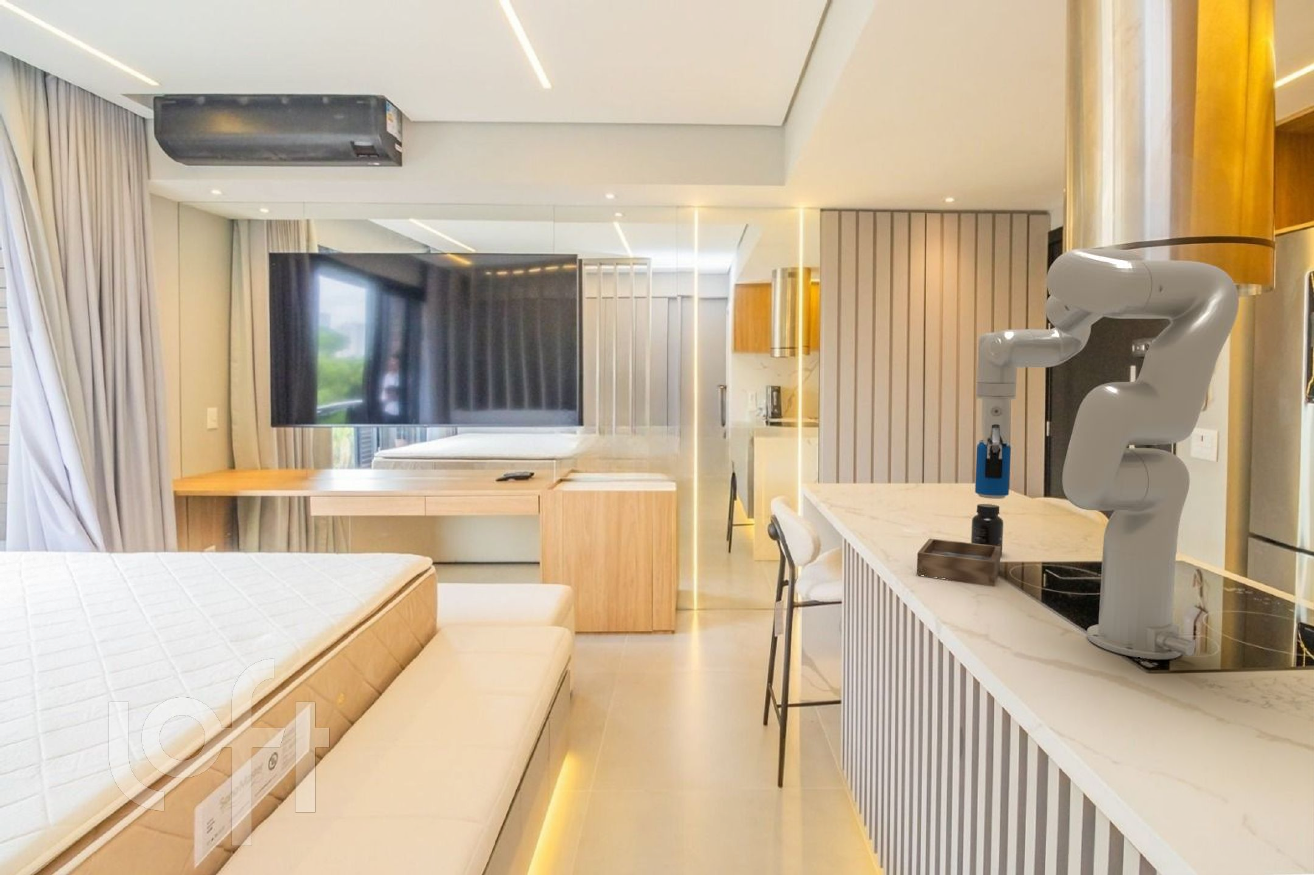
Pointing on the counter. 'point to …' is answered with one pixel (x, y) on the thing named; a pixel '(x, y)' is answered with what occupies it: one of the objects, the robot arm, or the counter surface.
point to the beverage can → (992, 485)
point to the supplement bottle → (987, 526)
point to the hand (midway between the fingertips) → (992, 474)
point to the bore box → (959, 561)
